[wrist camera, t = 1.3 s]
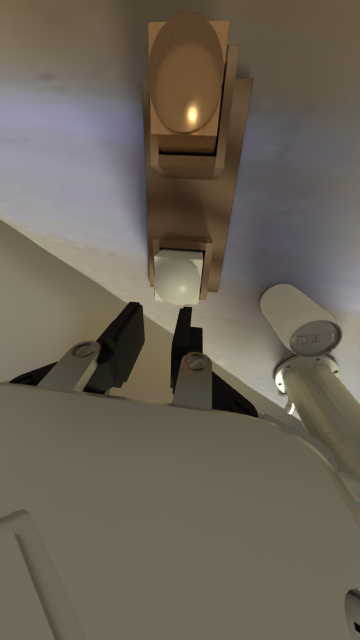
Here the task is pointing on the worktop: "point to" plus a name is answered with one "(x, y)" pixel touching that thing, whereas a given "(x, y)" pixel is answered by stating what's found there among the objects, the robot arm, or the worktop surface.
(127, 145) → the worktop surface
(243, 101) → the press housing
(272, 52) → the worktop surface
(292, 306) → the can
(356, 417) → the robot arm
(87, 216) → the worktop surface
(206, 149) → the copper plunger
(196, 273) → the pale plunger
